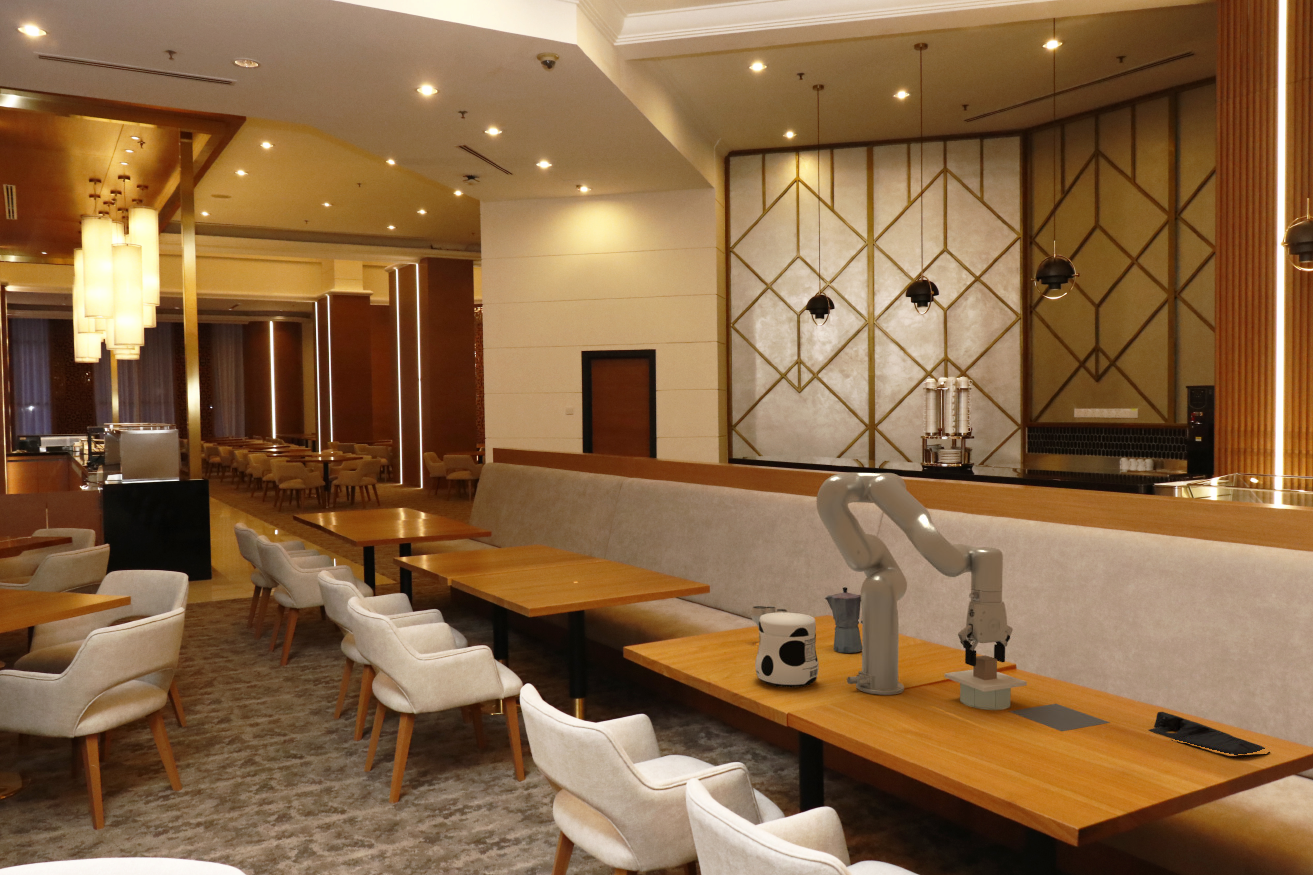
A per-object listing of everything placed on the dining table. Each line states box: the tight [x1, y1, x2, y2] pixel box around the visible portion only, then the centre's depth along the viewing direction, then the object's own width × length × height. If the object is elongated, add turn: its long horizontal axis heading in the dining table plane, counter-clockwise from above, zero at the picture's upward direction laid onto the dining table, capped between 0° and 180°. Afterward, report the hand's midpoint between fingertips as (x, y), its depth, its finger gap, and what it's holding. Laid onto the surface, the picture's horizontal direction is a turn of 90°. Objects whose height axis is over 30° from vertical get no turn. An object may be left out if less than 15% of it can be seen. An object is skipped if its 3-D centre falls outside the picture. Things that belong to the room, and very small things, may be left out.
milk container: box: [755, 611, 820, 688], centre depth 254 cm, size 17×17×18 cm
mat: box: [1008, 703, 1111, 732], centre depth 224 cm, size 16×16×1 cm
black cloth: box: [1147, 711, 1266, 755], centre depth 209 cm, size 15×22×5 cm
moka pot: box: [824, 586, 862, 654], centre depth 290 cm, size 10×15×20 cm, turn 82°
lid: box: [944, 655, 1028, 692], centre depth 235 cm, size 14×14×6 cm
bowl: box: [959, 683, 1012, 711], centre depth 235 cm, size 12×12×6 cm
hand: (985, 662), depth 235 cm, fingers open, 9 cm apart
